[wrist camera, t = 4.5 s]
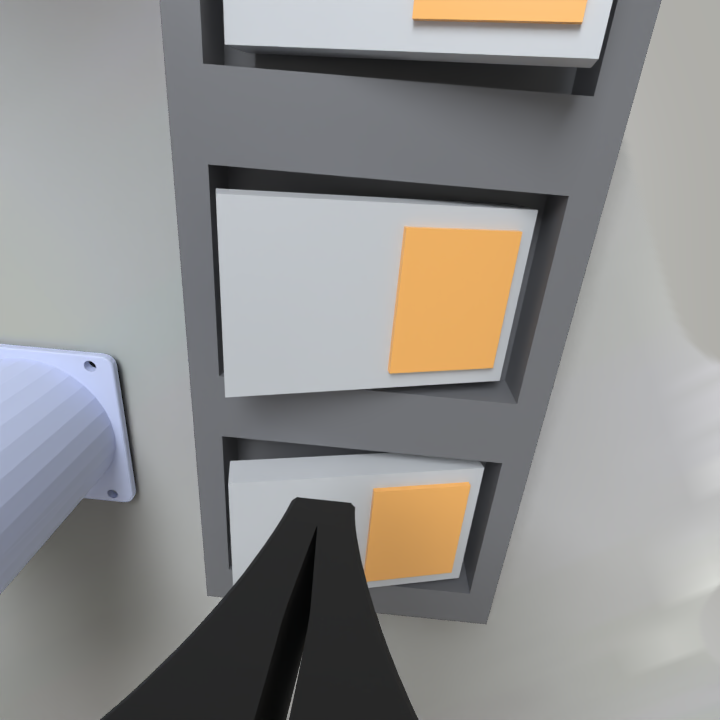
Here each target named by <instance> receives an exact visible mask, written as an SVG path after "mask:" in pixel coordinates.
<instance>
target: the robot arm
mask: <svg viewBox="0 0 720 720" xmlns="http://www.w3.org/2000/svg"><path fill="white" fill-rule="evenodd" d="M89 361H92V362H93V363H94V364H95V365H96V368H95V367H92V366H91V365H90V363H89ZM113 490H115V491H116V492H117V493H116V492H114V491H113ZM135 494H136V488H135V481H134V475H133V468H132V461H131V455H130V448H129V441H128V435H127V428H126V421H125V415H124V408H123V401H122V395H121V388H120V381H119V375H118V368H117V364H116V361H115V360H114V358H113V357H111V356H110V355H107V354H103V353H92V352H82V351H71V350H61V349H50V348H39V347H29V346H18V345H7V344H0V594H1V593H2V592H3V591H4V590H5V589H6V587H7V586H8V585H9V584H10V583H11V582H12V580H13V579H14V578H15V577H16V576H17V575H18V573H19V572H20V571H21V570H22V569H23V568H24V566H25V565H26V564H27V563H28V562H29V561H30V559H31V558H32V557H33V556H34V555H35V554H36V552H37V551H38V550H39V549H40V548H41V547H42V545H43V544H44V543H45V542H46V541H47V540H48V539H49V537H50V536H51V535H52V534H53V533H54V532H55V530H56V529H57V528H58V527H59V526H60V525H61V523H62V522H63V521H64V520H65V519H66V518H67V516H68V515H69V514H70V513H71V512H72V511H73V509H74V508H75V507H76V506H77V505H78V504H79V502H80V501H81V500H82V499H83V498H88V499H98V500H108V501H118V502H129V501H131V500H132V499H133V497H134V496H135ZM302 654H303V655H302ZM301 658H302V660H301ZM300 662H301V665H300ZM299 666H300V670H299ZM298 670H299V675H298V680H297V684H296V689H295V694H294V699H293V704H292V708H291V713H290V718H289V720H418V718H417V716H416V714H415V711H414V709H413V707H412V705H411V703H410V700H409V698H408V696H407V693H406V691H405V689H404V686H403V684H402V682H401V679H400V677H399V675H398V672H397V670H396V667H395V665H394V662H393V660H392V657H391V655H390V652H389V649H388V647H387V644H386V641H385V638H384V636H383V633H382V630H381V627H380V624H379V621H378V618H377V615H376V612H375V609H374V606H373V602H372V599H371V595H370V592H369V588H368V585H367V581H366V577H365V573H364V569H363V565H362V561H361V556H360V551H359V546H358V540H357V533H356V525H355V507H354V506H353V505H352V503H348V502H339V501H330V500H320V499H311V498H301V497H296V498H295V499H293V500H292V501H291V503H290V505H289V507H288V508H287V510H286V512H285V514H284V515H283V517H282V519H281V520H280V522H279V524H278V525H277V527H276V528H275V530H274V531H273V533H272V534H271V536H270V537H269V539H268V540H267V542H266V543H265V545H264V546H263V547H262V549H261V550H260V551H259V553H258V554H257V555H256V557H255V558H254V560H253V561H252V562H251V564H250V565H249V566H248V568H247V569H246V570H245V572H244V573H243V574H242V576H241V577H240V578H239V579H238V580H237V582H236V583H235V584H234V585H233V587H232V588H231V589H230V590H229V591H228V593H227V594H226V595H225V596H224V597H223V599H222V600H221V601H220V602H219V604H218V605H217V606H216V607H215V608H214V609H213V610H212V612H211V613H210V614H209V615H208V616H207V617H206V618H205V619H204V621H203V622H202V623H201V624H200V625H199V626H198V627H197V628H196V629H195V630H194V631H193V632H192V634H191V635H190V636H189V637H188V638H187V639H186V640H185V641H184V642H183V643H182V644H181V645H180V646H179V647H178V648H177V649H176V650H175V651H174V652H173V653H172V654H171V655H170V656H169V657H168V658H167V659H166V660H165V661H164V662H163V663H162V664H161V665H160V666H159V667H158V668H157V669H156V670H155V671H154V672H153V673H152V674H151V675H150V676H148V677H147V678H146V679H145V680H144V681H143V682H142V683H141V684H140V685H139V686H138V687H137V688H136V689H135V690H134V691H132V692H131V693H130V694H129V695H128V696H127V697H126V698H125V699H124V700H122V701H121V702H120V703H119V704H118V705H117V706H116V707H114V708H113V709H112V710H111V711H110V712H108V713H107V714H106V715H105V716H104V717H103V718H101V719H100V720H286V718H287V714H288V710H289V706H290V702H291V698H292V694H293V690H294V686H295V682H296V678H297V674H298Z"/></svg>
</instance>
